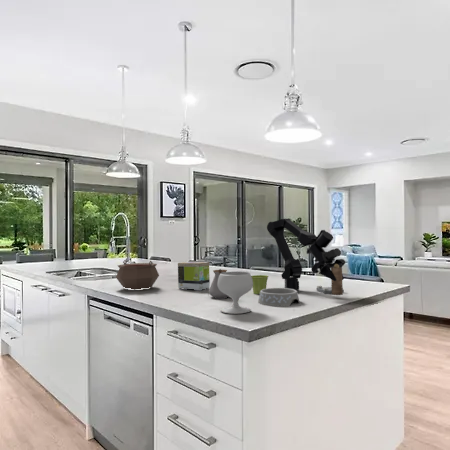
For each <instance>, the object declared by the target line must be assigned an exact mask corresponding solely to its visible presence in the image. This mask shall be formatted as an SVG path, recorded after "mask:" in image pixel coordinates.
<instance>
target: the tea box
mask: <svg viewBox="0 0 450 450" xmlns="http://www.w3.org/2000/svg"><path fill="white" fill-rule="evenodd" d="M210 279H211V277H210V262H209V261H183V262H178V263H177V280H178V283H177V285H178V286H177V287H178V288H185V289H184V290H187V289H194V290H193V291H203V290H202V289H205V290H207V289H206V288H209V289H210V287H211V284H210V283H211V282H210V281H211V280H210Z"/></svg>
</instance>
